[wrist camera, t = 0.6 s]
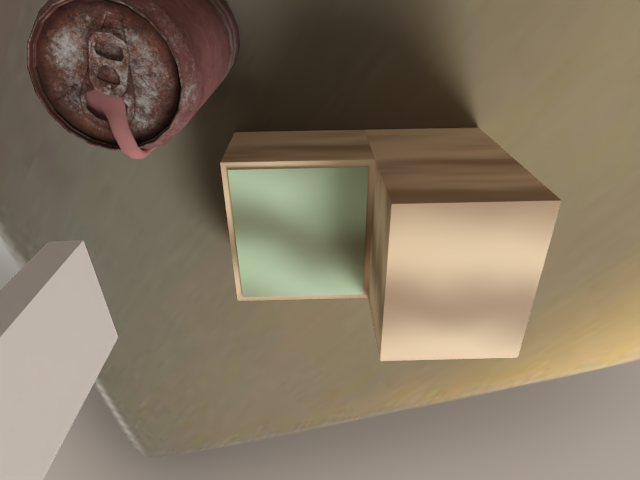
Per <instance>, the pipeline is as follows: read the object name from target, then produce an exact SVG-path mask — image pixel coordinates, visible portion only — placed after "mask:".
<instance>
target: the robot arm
mask: <svg viewBox="0 0 640 480" xmlns="http://www.w3.org/2000/svg"><path fill="white" fill-rule="evenodd" d="M117 338H118V336H117V333H116V330H115V327H114V324H113V322H112V319H111V316H110V313H109V311H108V308H107V305H106V302H105V299H104V297H103V294H102V291H101V288H100V285H99V283H98V280H97V277H96V274H95V272H94V269H93V266H92V263H91V260H90V258H89V255H88V252H87V249H86V246H85V244H84V241H83V240H78V241H59V242H47V243H46V244H45V245H44V247H43V248H42V249H41V250H40V251H39V252H38V253H37V254H36V255H35V256H34V257H33V258H32V259H31V260H30V261H29V262H28V263H27V264H26V265H25V266H24V267H23V268H22V269H21V270H20V271H19V272H18V273H17V274H16V275H15V276H14V277H13V278H12V279H11V280H10V281H9V282H8V283H7V284H6V285H5V286H4V287H3V288H2V289H1V290H0V480H43V479H44V477H45V475H46V473H47V471H48V469H49V467H50V465H51V463H52V461H53V460H54V458H55V456H56V454H57V452H58V450H59V448H60V446H61V445H62V443H63V441H64V439H65V437H66V435H67V433H68V431H69V429H70V427H71V426H72V424H73V422H74V420H75V418H76V416H77V414H78V412H79V410H80V409H81V407H82V405H83V403H84V401H85V399H86V397H87V395H88V393H89V391H90V390H91V388H92V386H93V384H94V382H95V380H96V378H97V376H98V374H99V373H100V371H101V369H102V367H103V365H104V363H105V361H106V359H107V357H108V355H109V354H110V352H111V350H112V348H113V346H114V344H115V342H116V340H117Z"/></svg>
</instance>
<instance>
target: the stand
mask: <svg viewBox="0 0 640 480" xmlns="http://www.w3.org/2000/svg"><path fill="white" fill-rule="evenodd" d="M220 166H221V174H222V181H223V189H224V197H225V205H226V213H227V220H228V228H229V236H230V244H231V252H232V259H233V267H234V275H235V283H236V291H237V299H238V301H244V300H287V299H329V298H368V299H369V305H370V310H371V315H372V321H373V326H374V331H375V337H376V342H377V347H378V352H379V358H380V361H396V360H436V359H475V358H514V357H518V355H519V351H520V348H521V344H522V340H523V337H524V333H525V330H526V326H527V323H528V319H529V315H530V312H531V308H532V305H533V301H534V297H535V294H536V290H537V287H538V283H539V280H540V276H541V272H542V269H543V265H544V262H545V258H546V254H547V251H548V247H549V244H550V240H551V237H552V233H553V229H554V226H555V222H556V219H557V215H558V211H559V208H560V204H561V200H560V199H559V198H558V197H557V196H556V195H555V194H554V193H552V192H551V191H550V190H549V189H548V188H547V187H546V186H544V185H543V184H542V183H541V182H540V181H539V180H538V179H536V178H535V177H534V176H533V175H532V174H531V173H530V172H528V171H527V170H526V169H525V168H524V167H523V166H522V165H521V164H519V163H518V162H517V161H516V160H515V159H514V158H513V157H511V156H510V155H509V154H508V153H507V152H506V151H505V150H503V149H502V148H501V147H500V146H499V145H498V144H497V143H495V142H494V141H493V140H492V139H491V138H490V137H489V136H488V135H486V134H485V133H484V132H483V131H482V130H481V129H480V128H431V129H377V130H323V131H268V132H234V134H233V137H232V139H231V141H230V143H229V145H228V147H227V149H226V151H225V153H224V155H223V158H222V160H221V162H220Z"/></svg>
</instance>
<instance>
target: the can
mask: <svg viewBox="0 0 640 480" xmlns="http://www.w3.org/2000/svg"><path fill="white" fill-rule="evenodd" d="M239 45H240V43H239V33H238V26H237V24H236V21H235V19H234V16H233V14H232V11H231V10H230V8H229V7H228V6H227V4H226V3H225V2H224V1H223V0H49V1H48V2H47V3H46V4H45V5H44V6H43V7H42V8H41V9H40V10H39V12H38V15H37V18H36V20H35V23H34V26H33V28H32V31H31V34H30V37H29V40H28V42H27V68H28V71H29V74H30V77H31V80H32V83H33V87H34V90H35V93H36V94H37V96H38V97H39V99H40V100H41V102H42V103H43V105H44V107H45V108H46V110H47V111H48V113H49V114H50V115H51V116H52V117H53V118H54V119H55V120H56V121H57V122H58V123H59V124H60V125H61V126H62V127H63V128H64V129H65V130H67V131H68V132H69V133H71V134H72V135H74V136H76V137H78V138H79V139H81V140H83V141H85V142H86V143H88V144H90V145H94V146H97V147H101V148H105V149H109V150H112V151H115V150H117V151H121V152H123V153H124V154H126V155H127V156H129V157H130V158H135V159H143V158H145V157H146V156H147V155H148V154H149V153H151V152H152V151H153V150H154V149H155V148H156V147H158V146H160V145H163V144H166V143H167V142H168V141H169V140H171V139H172V138H173V137H174V136H175V135H177V134H178V133H179V132H180V131H181V130H182V129H183V128H184V127H185V126H186V125H187V123H188V122H189V121H190V120H191V119H192V117H193V116H194V115H195V114H196V113H197V111H198V110H199V109H200V108H201V106H202V105H203V104H204V103H205V102H206V100H207V99H208V98H209V97H210V96H211V94H212V93H213V92H214V91H215V90H216V88H217V87H218V86H219V85H220V84H221V82H222V81H223V80H224V79H225V77H226V76H227V75H228V74H229V72H230V71H231V69H232V67H233V65H234V64H235V62H236V60H237V55H238V50H239Z"/></svg>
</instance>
